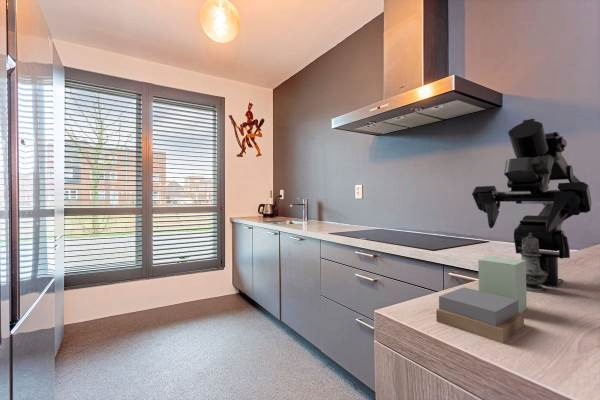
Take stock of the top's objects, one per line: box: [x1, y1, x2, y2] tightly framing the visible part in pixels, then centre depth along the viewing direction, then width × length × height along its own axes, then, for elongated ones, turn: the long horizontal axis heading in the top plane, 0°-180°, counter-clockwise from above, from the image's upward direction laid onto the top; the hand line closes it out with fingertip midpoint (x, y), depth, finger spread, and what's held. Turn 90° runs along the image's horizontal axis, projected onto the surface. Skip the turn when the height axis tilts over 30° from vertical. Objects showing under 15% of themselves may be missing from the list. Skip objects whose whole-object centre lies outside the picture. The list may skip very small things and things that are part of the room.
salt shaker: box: [519, 232, 548, 293], centre depth 61 cm, size 6×6×12 cm
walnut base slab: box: [435, 308, 525, 344], centre depth 44 cm, size 9×9×2 cm
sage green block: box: [477, 255, 527, 313], centre depth 51 cm, size 6×6×8 cm
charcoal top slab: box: [438, 286, 518, 326], centre depth 45 cm, size 8×8×2 cm
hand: (517, 228), depth 56 cm, fingers open, 9 cm apart
